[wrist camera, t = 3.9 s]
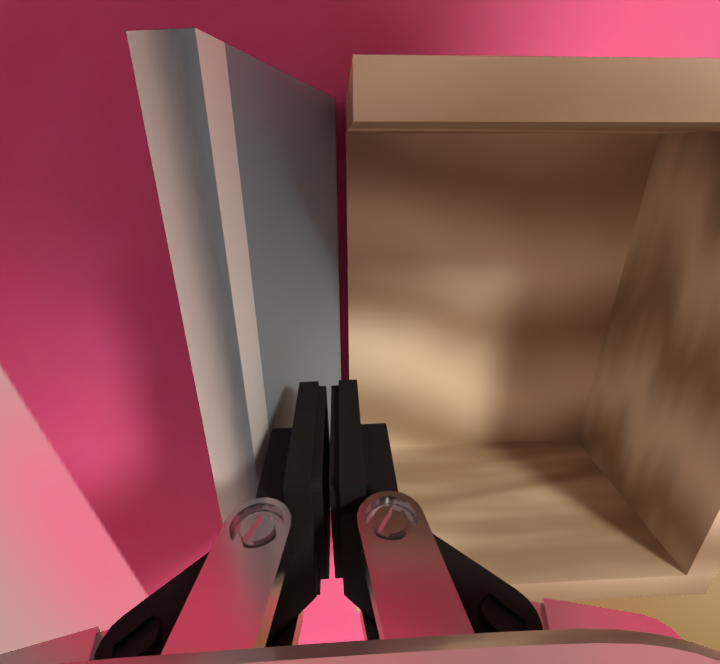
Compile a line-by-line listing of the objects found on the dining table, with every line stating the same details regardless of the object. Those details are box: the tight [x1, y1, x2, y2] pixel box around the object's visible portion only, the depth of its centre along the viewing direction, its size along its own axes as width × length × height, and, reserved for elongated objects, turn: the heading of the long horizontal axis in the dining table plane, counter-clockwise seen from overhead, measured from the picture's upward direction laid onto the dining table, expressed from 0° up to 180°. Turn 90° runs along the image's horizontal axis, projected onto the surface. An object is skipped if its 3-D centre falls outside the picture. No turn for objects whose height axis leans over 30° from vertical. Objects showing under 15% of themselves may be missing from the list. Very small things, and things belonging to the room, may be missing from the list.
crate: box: [345, 54, 720, 612], centre depth 16 cm, size 18×14×9 cm
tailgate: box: [126, 28, 341, 524], centre depth 15 cm, size 18×1×11 cm, turn 0°
